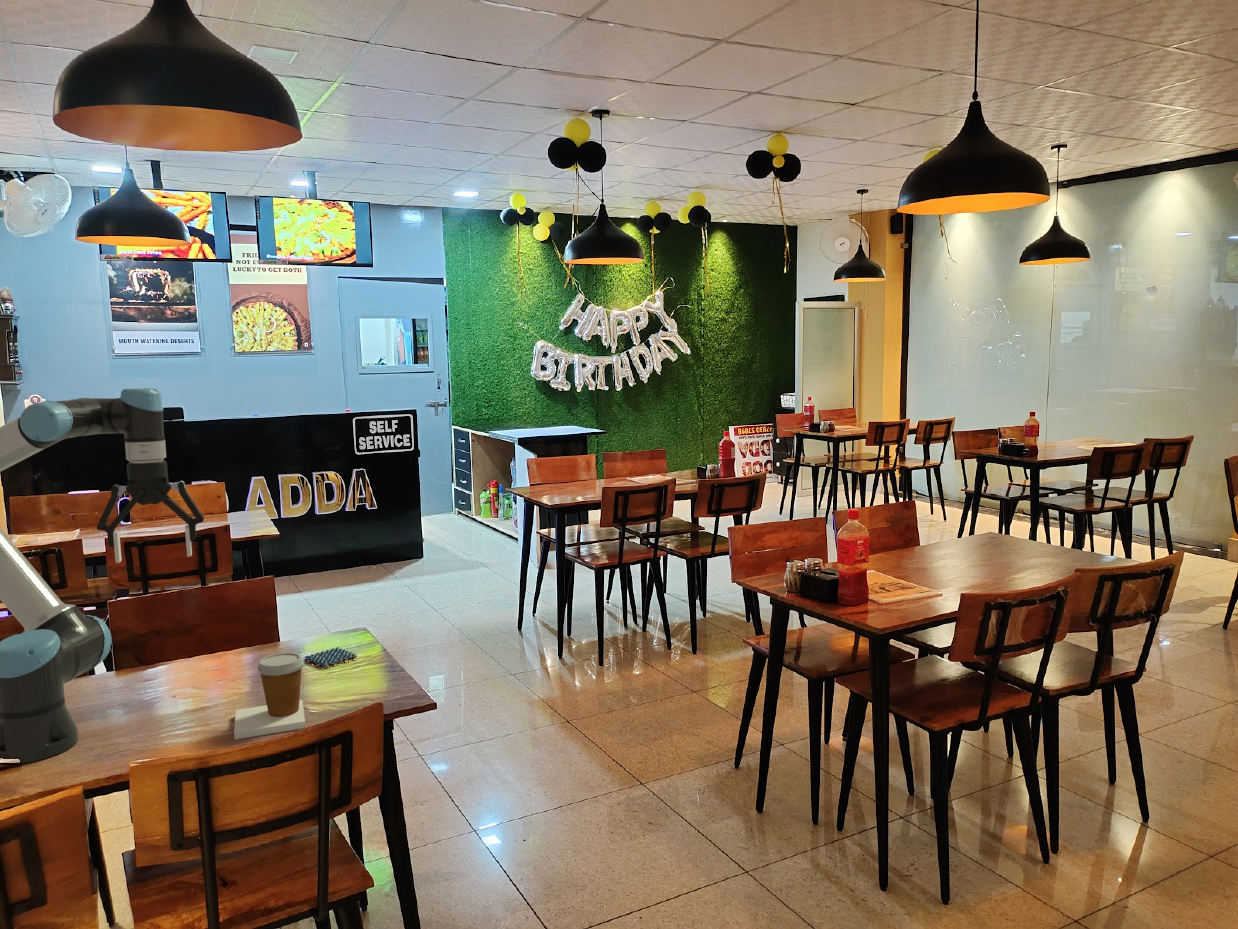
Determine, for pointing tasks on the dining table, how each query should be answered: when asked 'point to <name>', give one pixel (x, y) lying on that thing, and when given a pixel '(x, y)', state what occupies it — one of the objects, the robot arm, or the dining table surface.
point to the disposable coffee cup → (281, 682)
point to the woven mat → (329, 657)
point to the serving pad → (265, 722)
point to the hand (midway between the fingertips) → (154, 558)
